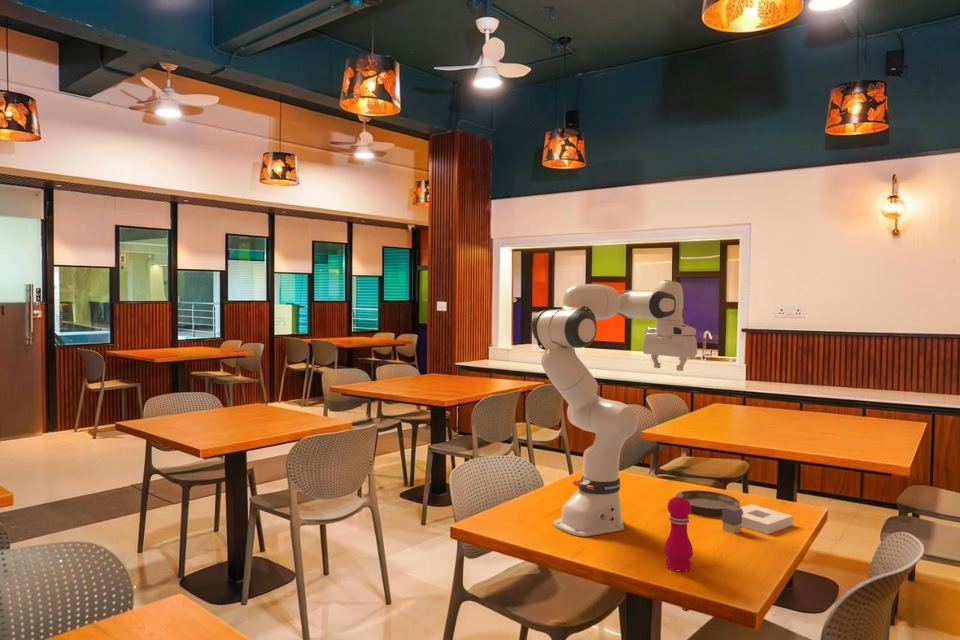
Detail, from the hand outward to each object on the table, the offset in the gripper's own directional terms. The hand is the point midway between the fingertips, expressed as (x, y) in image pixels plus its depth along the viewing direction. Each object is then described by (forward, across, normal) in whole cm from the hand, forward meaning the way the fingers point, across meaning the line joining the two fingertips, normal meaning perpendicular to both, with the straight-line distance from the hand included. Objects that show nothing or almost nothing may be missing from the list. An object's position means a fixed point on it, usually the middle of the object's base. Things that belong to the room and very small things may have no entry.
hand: (668, 369), depth 220 cm
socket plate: (+47, +28, +10) cm, 55 cm away
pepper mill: (+47, +35, -39) cm, 70 cm away
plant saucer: (+47, +9, +10) cm, 49 cm away
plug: (+47, +27, -3) cm, 54 cm away
